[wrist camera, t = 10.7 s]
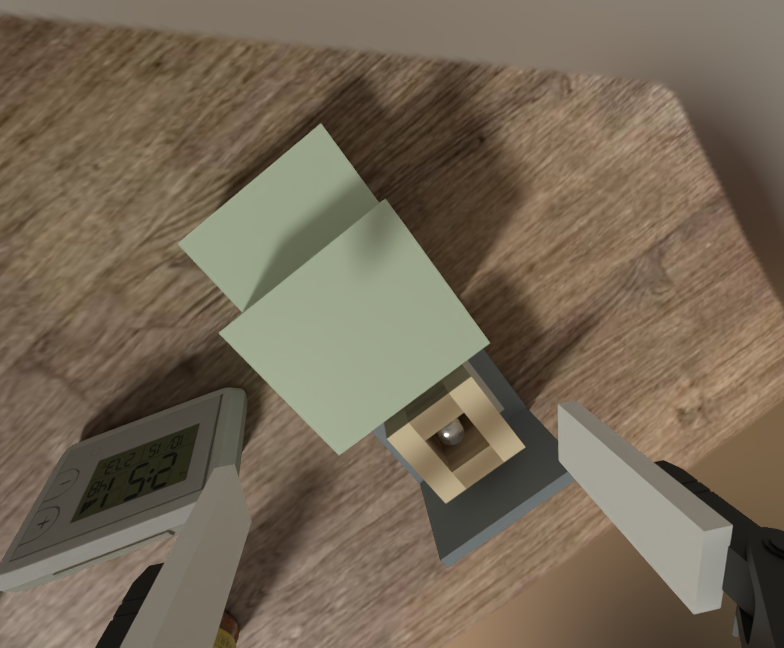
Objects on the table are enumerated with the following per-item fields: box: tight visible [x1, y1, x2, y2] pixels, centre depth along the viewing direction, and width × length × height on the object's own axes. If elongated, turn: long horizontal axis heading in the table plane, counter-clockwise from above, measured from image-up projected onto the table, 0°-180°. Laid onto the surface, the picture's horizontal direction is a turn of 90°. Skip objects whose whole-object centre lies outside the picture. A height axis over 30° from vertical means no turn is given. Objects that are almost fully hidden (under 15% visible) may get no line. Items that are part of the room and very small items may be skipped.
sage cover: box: [178, 124, 490, 455], centre depth 26 cm, size 17×12×8 cm
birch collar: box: [384, 364, 525, 503], centre depth 31 cm, size 8×8×6 cm
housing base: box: [372, 349, 575, 568], centre depth 29 cm, size 26×12×9 cm, turn 37°
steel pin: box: [437, 417, 464, 445], centre depth 32 cm, size 2×2×6 cm
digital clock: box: [0, 387, 248, 592], centre depth 28 cm, size 16×9×11 cm, turn 98°
